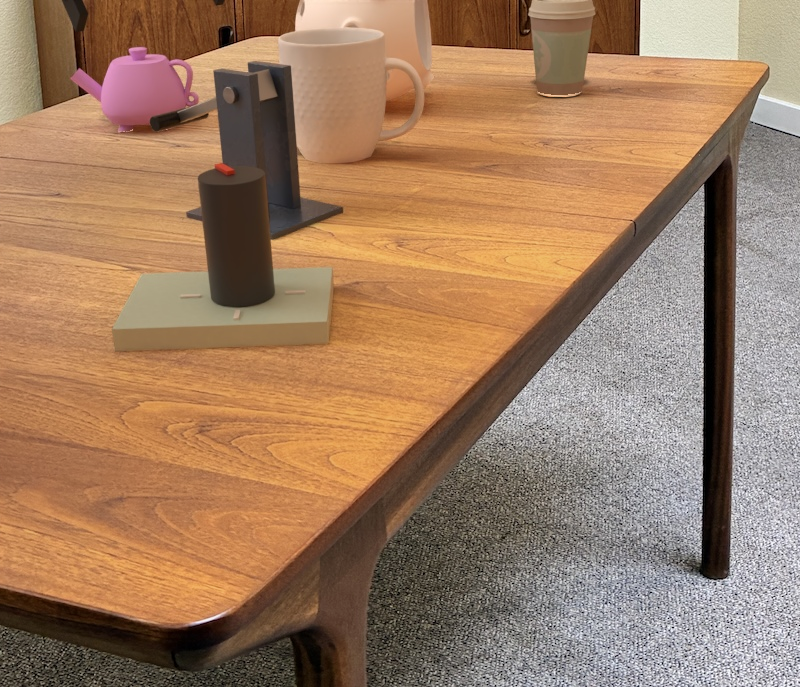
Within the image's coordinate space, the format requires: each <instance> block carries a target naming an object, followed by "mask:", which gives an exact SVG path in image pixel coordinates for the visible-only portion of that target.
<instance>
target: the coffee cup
mask: <svg viewBox="0 0 800 687" xmlns="http://www.w3.org/2000/svg"><path fill="white" fill-rule="evenodd" d="M595 15H596V6H594V1H593V0H531V4H530V7H529V8H528V13H527V16H529V18H530V29H531V39H532V40H531V41H532V52H533V62H534V74H535V84H536V92H537V91H538V92H540V93H544V94H551V95H568V94H575V93H579V92H581V91H582V92H583V89H584V88H583V87H584V82H585V75H586V68H587V61H588V54H589V48H590V41H591V36H592V35H591V34H592V26H593V20H594V16H595Z"/></svg>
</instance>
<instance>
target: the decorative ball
mask: <svg viewBox="0 0 800 687" xmlns="http://www.w3.org/2000/svg"><path fill="white" fill-rule="evenodd" d="M294 23H295V24H294V26H295V27H294V31H300V30H308V29H319V28H340V27H349V28H366V29H374V30H378V31H381V32H383V33H384V35H385V53H386V57H387V58H397V59H400V60H403V61H405V62H407V63H409V64H410V65H411V66H412V67H413V68H414V69H415V70H416V71H417V73H418V75H419V77H420V79H421V81H422V84H423V89H424V90H425V89H426V88H427V86H428V85H430V83H431V82H432V81H433V79H434V78H435V75H434V74H433V73H432V63H433V43H432V42H433V41H432V30H431V18H430V11H429V2H428V0H299V2H298V5H297V10H296V14H295V22H294ZM386 75H387V79H386V80H387V85H386V89H387V90H386V103H387V102H390V101H393V100H395V99H398V98H401V97H402V96H404V95H405V94H408V93H409V92H410V91H412V90H413V89H415V88H414V85H413V82H412V80H411V79H410V77H409V76H408V74H406V73H405V72H404V71H402V70H400V69H391V70H387V71H386Z"/></svg>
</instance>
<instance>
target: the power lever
mask: <svg viewBox="0 0 800 687" xmlns="http://www.w3.org/2000/svg"><path fill="white" fill-rule="evenodd" d="M255 73H257V74H258V84H259V96H260V103H261V102H264V101H267V100H269V99H272V98H275V97H277V96H278V95H277V92H276V89H275V86H274V83H273V80H272V77H271V74H270V71H269V69H267V70H263V71H259V72H255ZM214 111H215V112H216V111H217V102H216V96H215V97H212V98H210V99H207V100H205V101H202V102H198V104H197V105H194V106H191V107H188V106H186V107H185V108H183V109H179V110H175V111H171V112H167V113H164V114H160V115H156V116H152V117H151V118H150V125H149V126H150V128H151V130H152V131H153V132H156V133H158V132H163V131H162V130H166V129H170V128H171V129H173V128H177V127H180V126H184V125H189V124H192V123H195V122H199V121H203V120H207V119H208V118H209V116H210V113H213V112H214ZM171 129H170V130H171Z"/></svg>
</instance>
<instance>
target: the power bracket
mask: <svg viewBox="0 0 800 687" xmlns="http://www.w3.org/2000/svg"><path fill="white" fill-rule="evenodd" d="M267 69H269V71H270V74H271V77H272V80H273V83H274V86H275V89H276V92H277V95H278V96H277V97H275V98H272V99H269V100H267V101H264V102H261V103H260V96H259V84H258V74H257V73H255V72H259V71H263V70H267ZM212 72H213V82H214V91H215V97H216V102H217V110H216V111H217V120H218V130H219V141H220V150H221V160H222V161H221V163H223V164H225V165H227V166H228V167H229V166H249V167H255V168H259V169H261V170H263V171H264V172H265V179H266V191H267V203H268V214H269V226H270V238H271V241H274V240H277V239H279V238H282V237H284V236H287V235H289V234H291V233H292V234H293V233H294V232H297V231H300V230H302V229H305V228H307V227H310V226H313V225H315V224H318V223H320V222H322V221H326V220H327V219H331V218H332V217H335V216H338V215H341V214H343V213H344V207H343V206H340V205H336V204H333V203H332V204H331V203H327V202H324V201H319V200H314V199H309V198H306V197H301V187H300V173H299V159H298V147H297V143H296V129H295V115H294V101H293V87H292V73H291V66H290V65H283V64H279V63H276V62H267V61H259V60H253V61H248V62H247V71H242V70H236V69H227V68H218V69H214V70H213V71H212ZM185 213H186V218H188V219H192V220H196V221H199V222H202V213H201V206H199V207H196V208H194V209H191V210H187V211H186V212H185Z"/></svg>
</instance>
